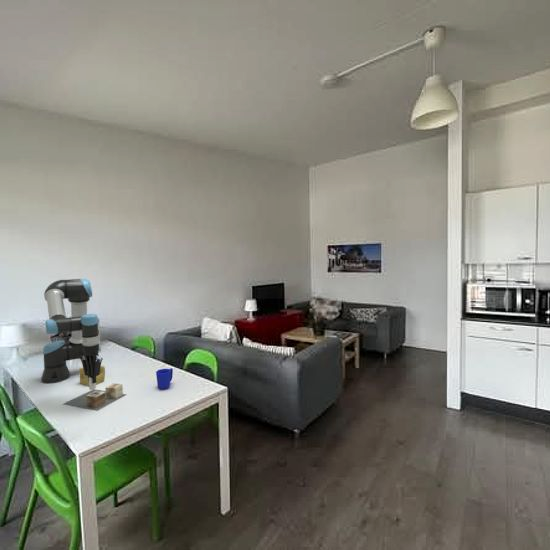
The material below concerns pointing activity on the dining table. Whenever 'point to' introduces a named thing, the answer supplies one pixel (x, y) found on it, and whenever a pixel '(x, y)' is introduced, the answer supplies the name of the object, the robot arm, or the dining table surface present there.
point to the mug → (164, 378)
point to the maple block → (114, 391)
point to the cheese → (99, 378)
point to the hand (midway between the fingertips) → (92, 388)
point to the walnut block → (96, 399)
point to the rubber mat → (82, 401)
